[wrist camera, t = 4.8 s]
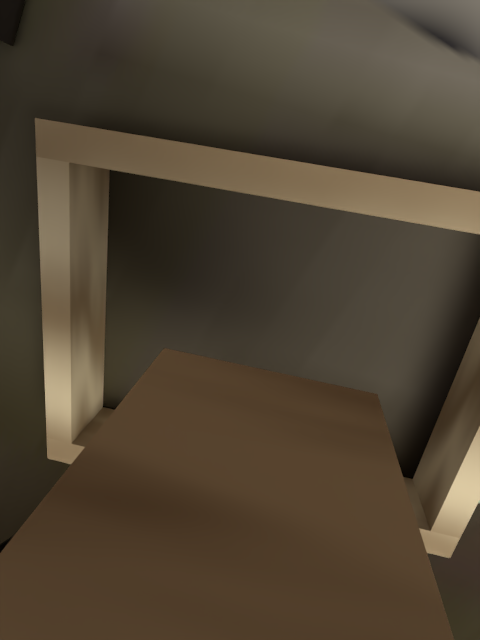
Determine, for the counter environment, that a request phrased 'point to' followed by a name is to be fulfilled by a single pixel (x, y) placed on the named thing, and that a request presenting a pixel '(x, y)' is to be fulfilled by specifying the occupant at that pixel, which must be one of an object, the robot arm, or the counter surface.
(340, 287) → the counter surface
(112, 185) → the counter surface
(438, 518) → the beige flat rectangular frame
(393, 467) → the walnut block
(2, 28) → the phone stand
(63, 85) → the counter surface
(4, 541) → the robot arm
